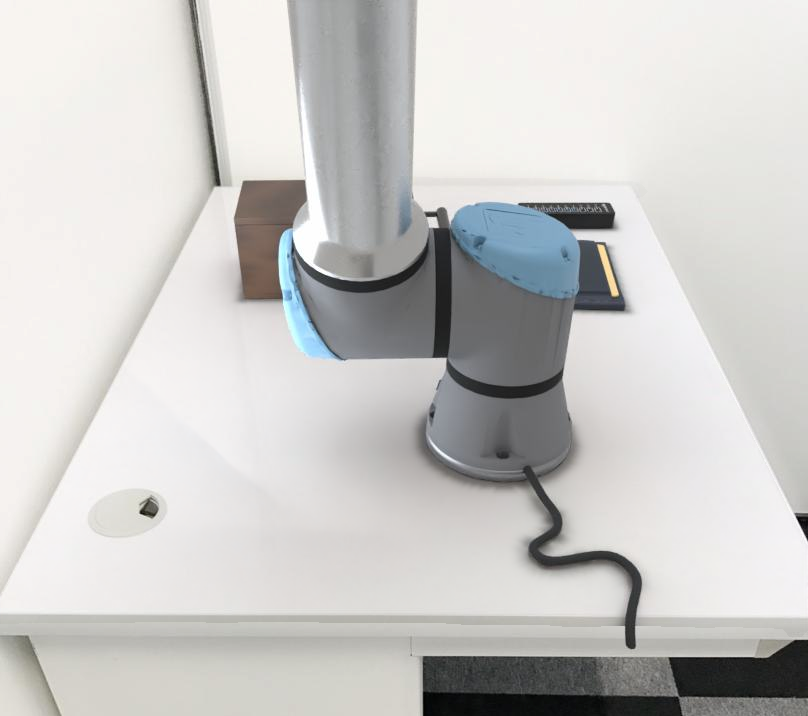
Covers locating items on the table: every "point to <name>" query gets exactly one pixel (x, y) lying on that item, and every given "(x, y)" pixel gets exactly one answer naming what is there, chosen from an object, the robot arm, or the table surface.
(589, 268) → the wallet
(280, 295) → the brown wooden box
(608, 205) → the multiport hub
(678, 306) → the table surface
